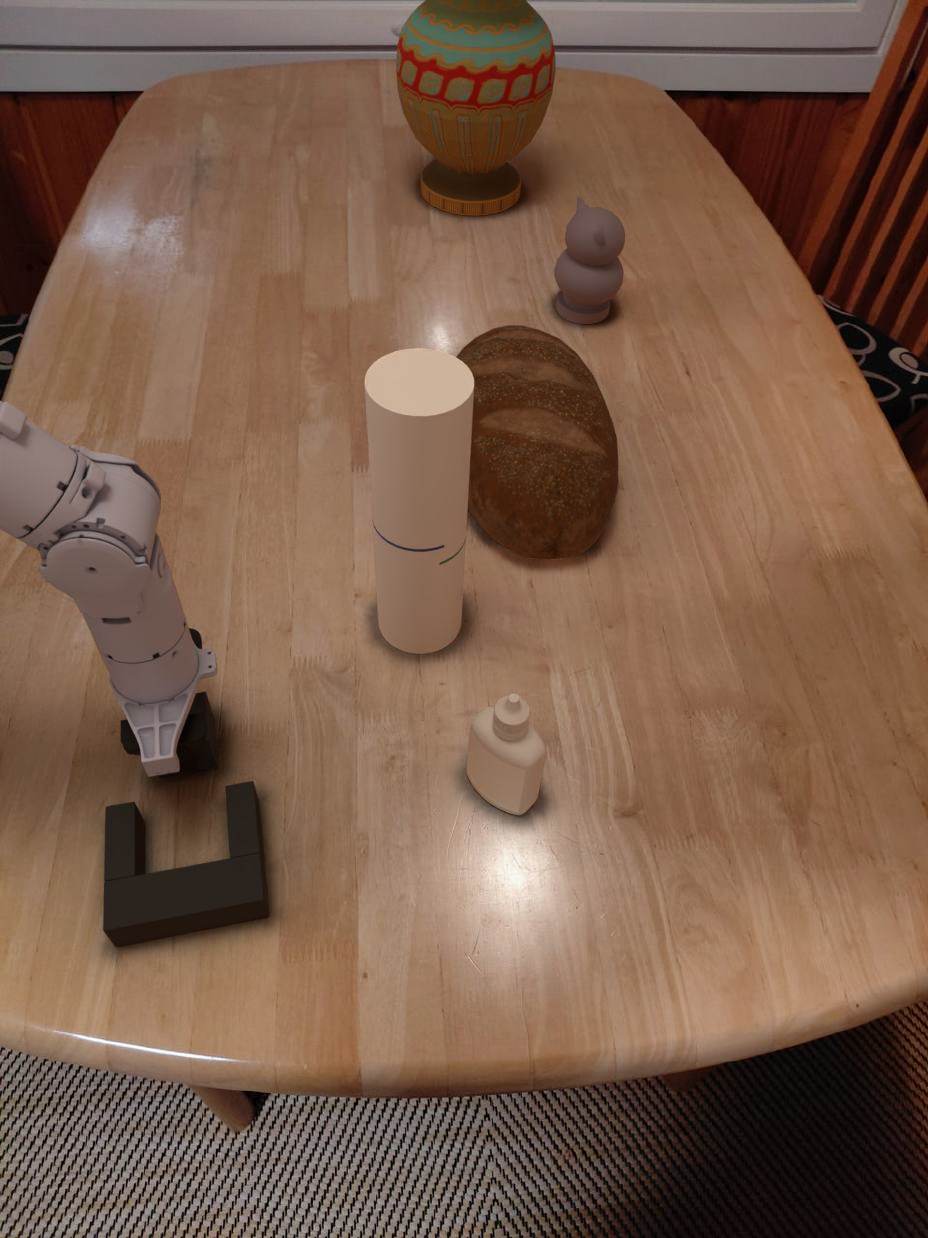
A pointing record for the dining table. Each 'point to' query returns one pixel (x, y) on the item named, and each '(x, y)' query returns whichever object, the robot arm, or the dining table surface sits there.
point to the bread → (538, 444)
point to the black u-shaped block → (183, 877)
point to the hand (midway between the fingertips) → (182, 739)
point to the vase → (474, 96)
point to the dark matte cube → (209, 745)
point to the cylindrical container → (419, 493)
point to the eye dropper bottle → (506, 755)
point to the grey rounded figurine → (589, 265)
